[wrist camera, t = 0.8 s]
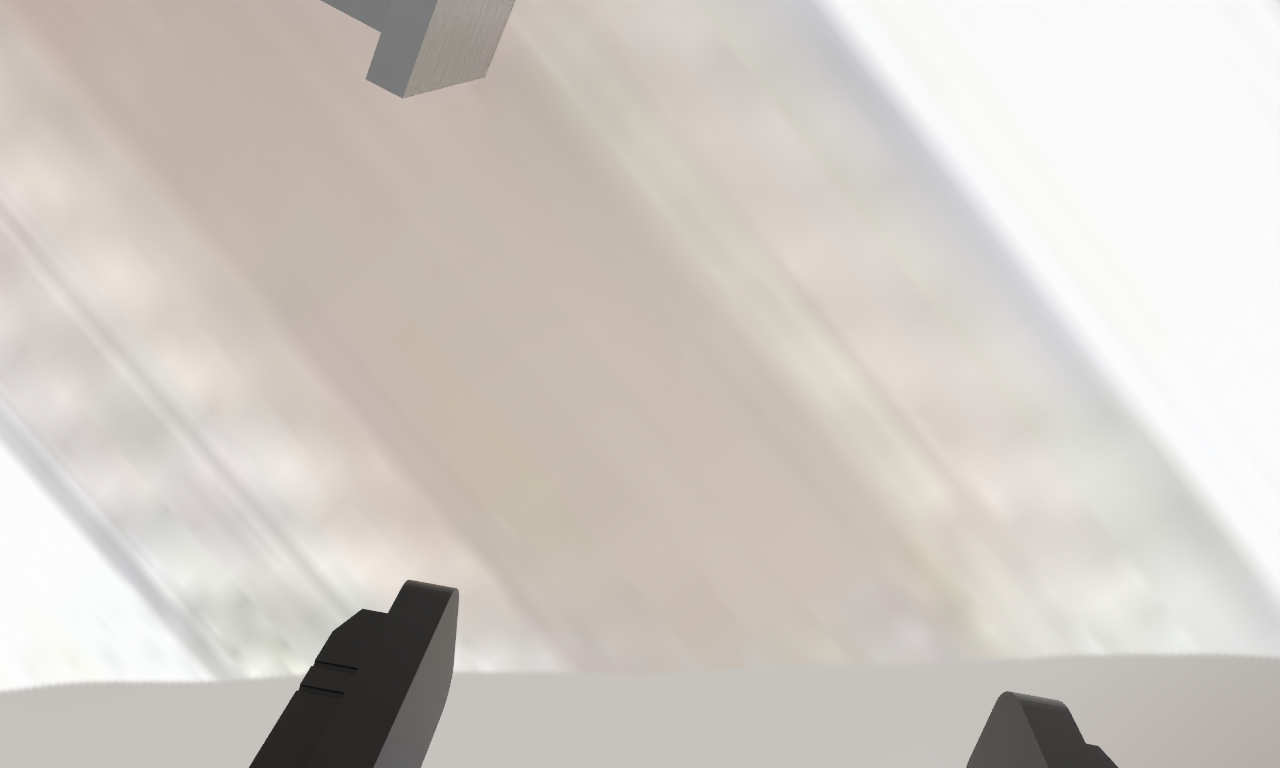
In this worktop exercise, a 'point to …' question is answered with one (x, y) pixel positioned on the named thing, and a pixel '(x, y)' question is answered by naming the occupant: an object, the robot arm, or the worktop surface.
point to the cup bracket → (429, 40)
